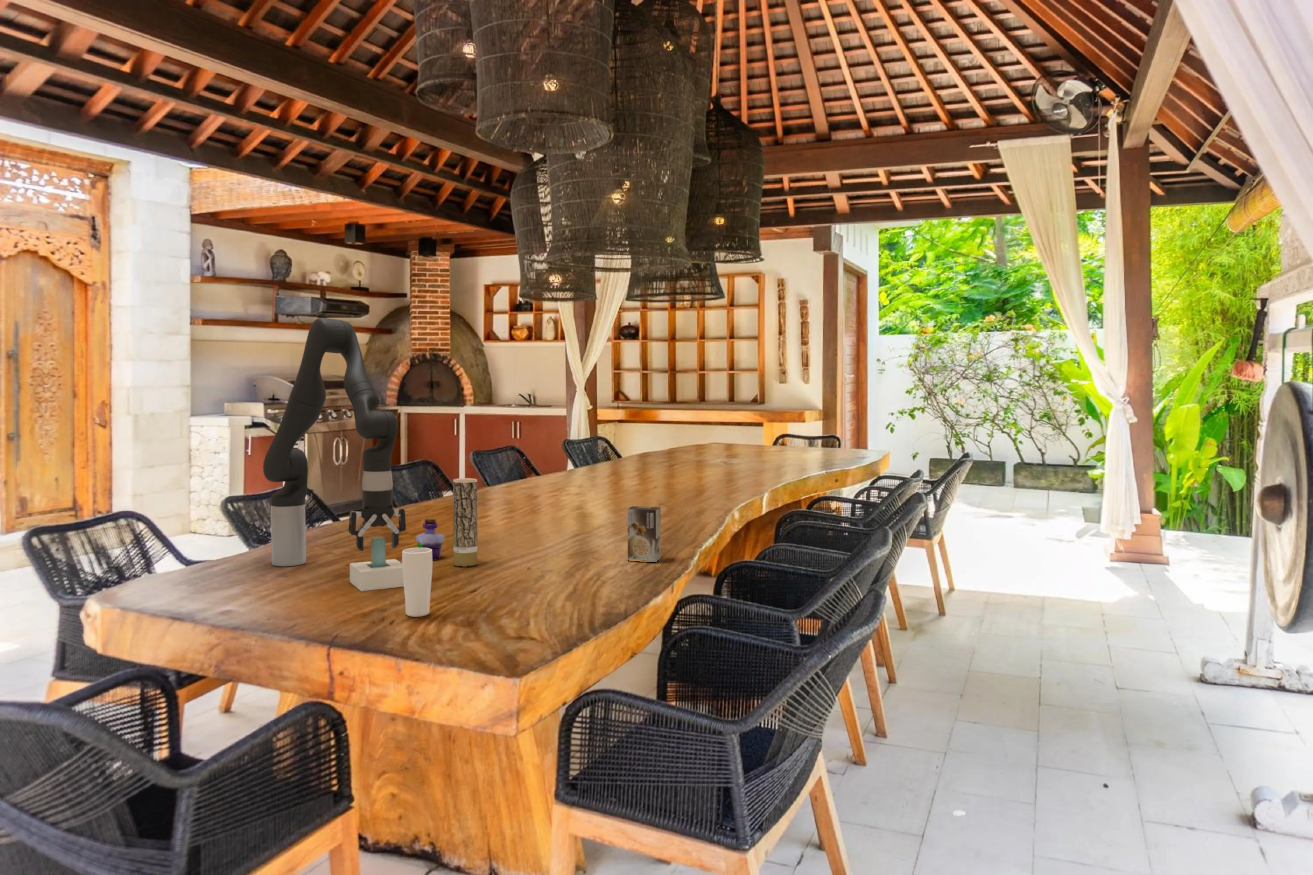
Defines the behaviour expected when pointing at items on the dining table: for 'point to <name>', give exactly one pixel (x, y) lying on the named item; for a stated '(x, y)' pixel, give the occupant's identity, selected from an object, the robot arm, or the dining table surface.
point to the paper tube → (465, 521)
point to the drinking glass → (417, 580)
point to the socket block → (376, 575)
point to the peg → (378, 552)
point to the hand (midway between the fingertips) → (377, 548)
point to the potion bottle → (431, 538)
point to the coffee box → (644, 533)
